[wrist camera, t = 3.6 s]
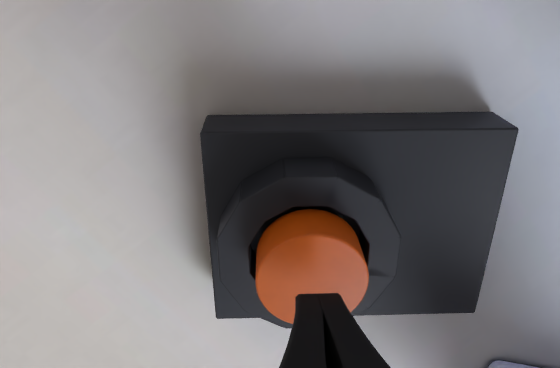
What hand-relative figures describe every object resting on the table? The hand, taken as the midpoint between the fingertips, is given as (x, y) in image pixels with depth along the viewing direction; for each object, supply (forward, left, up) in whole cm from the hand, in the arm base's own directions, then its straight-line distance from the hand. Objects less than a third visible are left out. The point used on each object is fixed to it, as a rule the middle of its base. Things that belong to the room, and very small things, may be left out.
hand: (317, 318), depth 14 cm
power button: (0, 0, -4) cm, 4 cm away
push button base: (-2, 0, -7) cm, 7 cm away
